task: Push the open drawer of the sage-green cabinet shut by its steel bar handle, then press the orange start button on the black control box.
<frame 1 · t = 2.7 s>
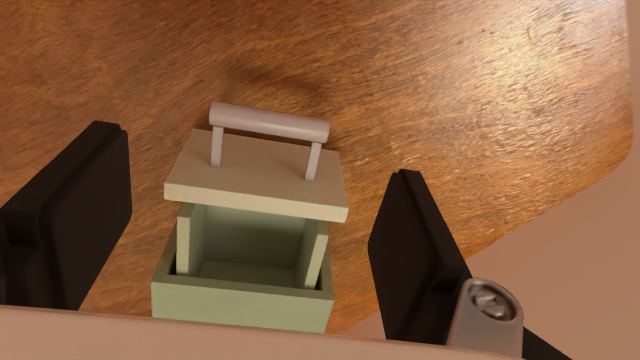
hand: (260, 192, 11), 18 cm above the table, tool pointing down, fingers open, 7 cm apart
drawer: (257, 213, 28), point 5 cm above the table, slide at 6.0 cm
cabinet: (249, 266, 37), on the table
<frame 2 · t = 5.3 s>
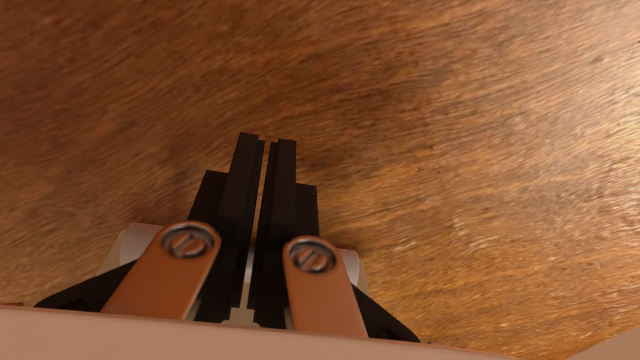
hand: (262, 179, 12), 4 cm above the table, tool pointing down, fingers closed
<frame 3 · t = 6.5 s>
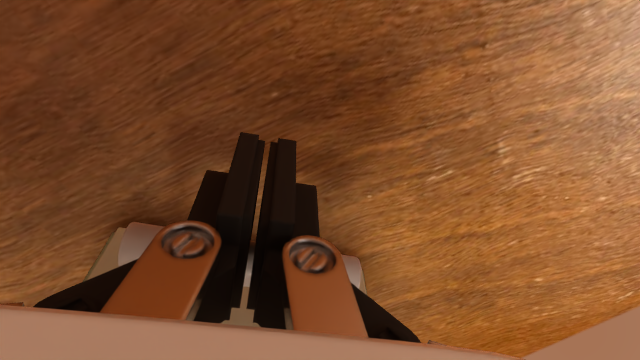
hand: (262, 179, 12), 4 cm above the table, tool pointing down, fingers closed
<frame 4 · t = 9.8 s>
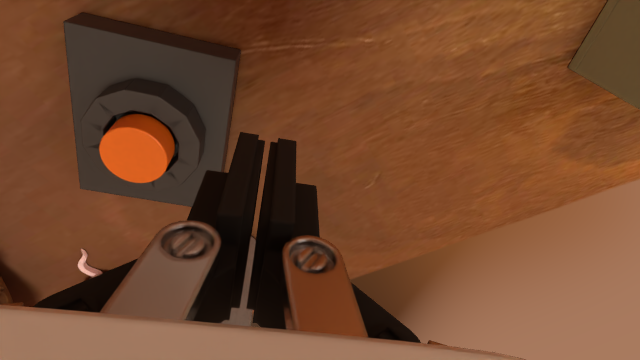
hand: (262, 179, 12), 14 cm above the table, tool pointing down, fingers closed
gray hollow cylinder: (232, 246, 33), on the table
control box: (161, 115, 26), on the table
button: (138, 148, 22), point 4 cm above the table, slide at 0.1 cm
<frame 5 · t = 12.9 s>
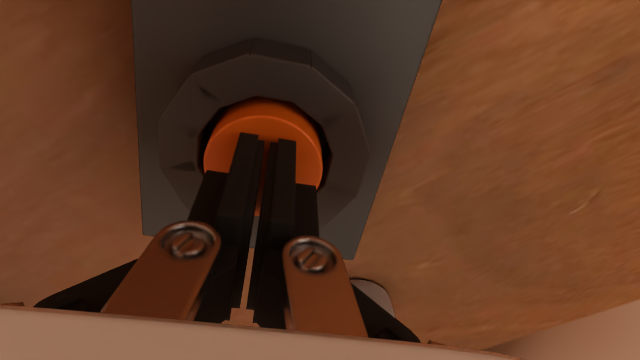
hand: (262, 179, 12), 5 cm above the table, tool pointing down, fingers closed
gray hollow cylinder: (350, 302, 23), on the table
control box: (272, 110, 16), on the table
button: (265, 156, 13), point 4 cm above the table, slide at -0.7 cm, touching gripper
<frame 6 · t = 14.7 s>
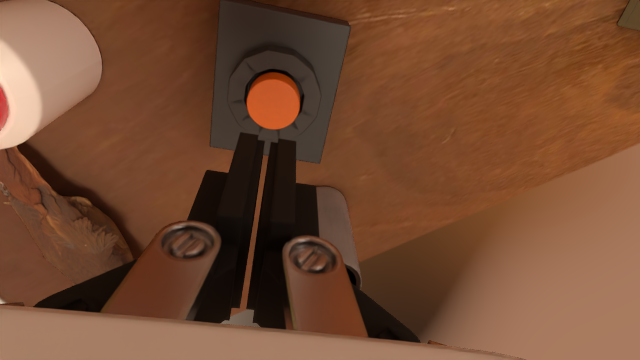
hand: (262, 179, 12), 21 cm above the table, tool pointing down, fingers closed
gray hollow cylinder: (322, 204, 38), on the table
bird sculpture: (88, 214, 37), on the table
pill bottle: (49, 53, 30), on the table
control box: (276, 82, 31), on the table
button: (273, 101, 28), point 4 cm above the table, slide at 0.1 cm
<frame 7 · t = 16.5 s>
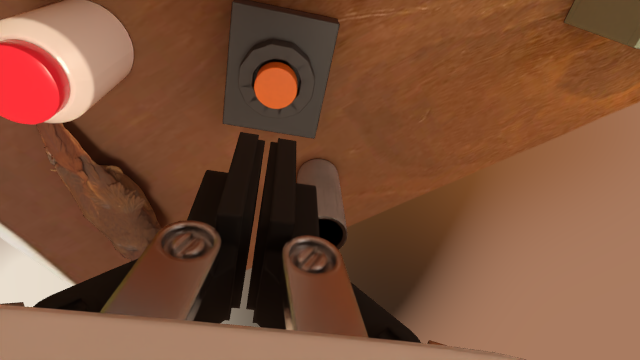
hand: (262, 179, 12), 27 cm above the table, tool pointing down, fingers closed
gray hollow cylinder: (317, 175, 44), on the table
bird sculpture: (118, 182, 44), on the table
pill bottle: (90, 44, 36), on the table
control box: (278, 69, 37), on the table
button: (276, 85, 34), point 4 cm above the table, slide at 0.1 cm
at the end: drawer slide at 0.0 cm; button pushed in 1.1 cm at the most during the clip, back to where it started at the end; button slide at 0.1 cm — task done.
